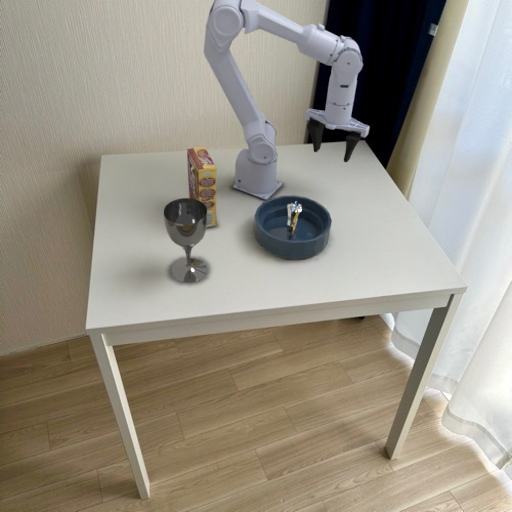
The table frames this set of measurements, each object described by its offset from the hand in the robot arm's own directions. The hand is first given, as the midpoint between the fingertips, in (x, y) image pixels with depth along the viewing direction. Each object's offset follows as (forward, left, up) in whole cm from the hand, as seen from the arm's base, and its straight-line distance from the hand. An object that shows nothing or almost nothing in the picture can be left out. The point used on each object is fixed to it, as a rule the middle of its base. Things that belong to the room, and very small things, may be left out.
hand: (331, 155), depth 121 cm
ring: (+1, -20, -10) cm, 22 cm away
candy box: (-19, -25, -10) cm, 33 cm away
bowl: (+1, -20, -10) cm, 22 cm away
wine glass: (-11, -41, -10) cm, 44 cm away
